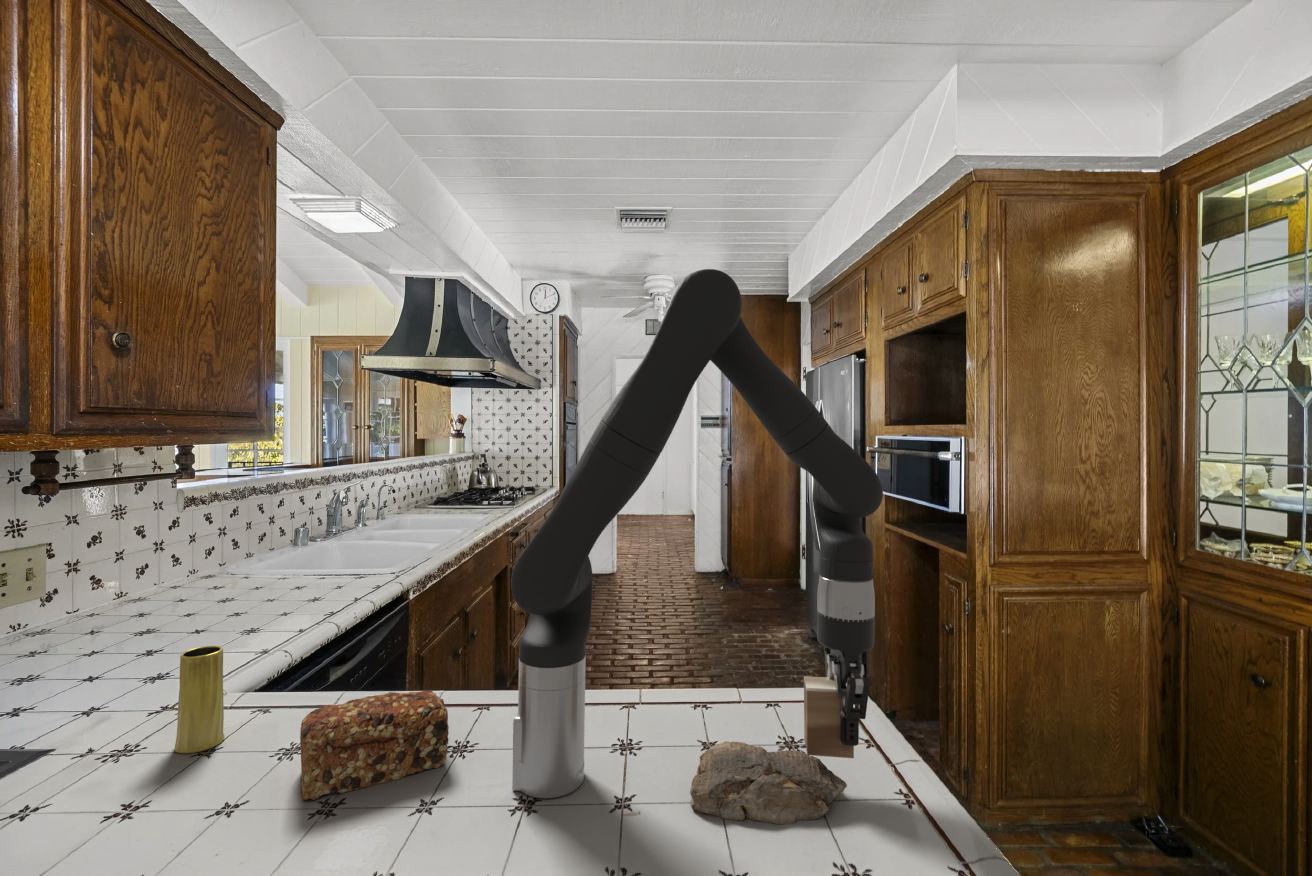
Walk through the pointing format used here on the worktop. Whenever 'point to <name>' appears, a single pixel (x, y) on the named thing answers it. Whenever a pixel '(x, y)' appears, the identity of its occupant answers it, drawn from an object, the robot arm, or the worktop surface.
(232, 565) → the worktop surface
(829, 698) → the walnut block
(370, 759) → the bread
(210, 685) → the vase
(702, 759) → the clay tablet
